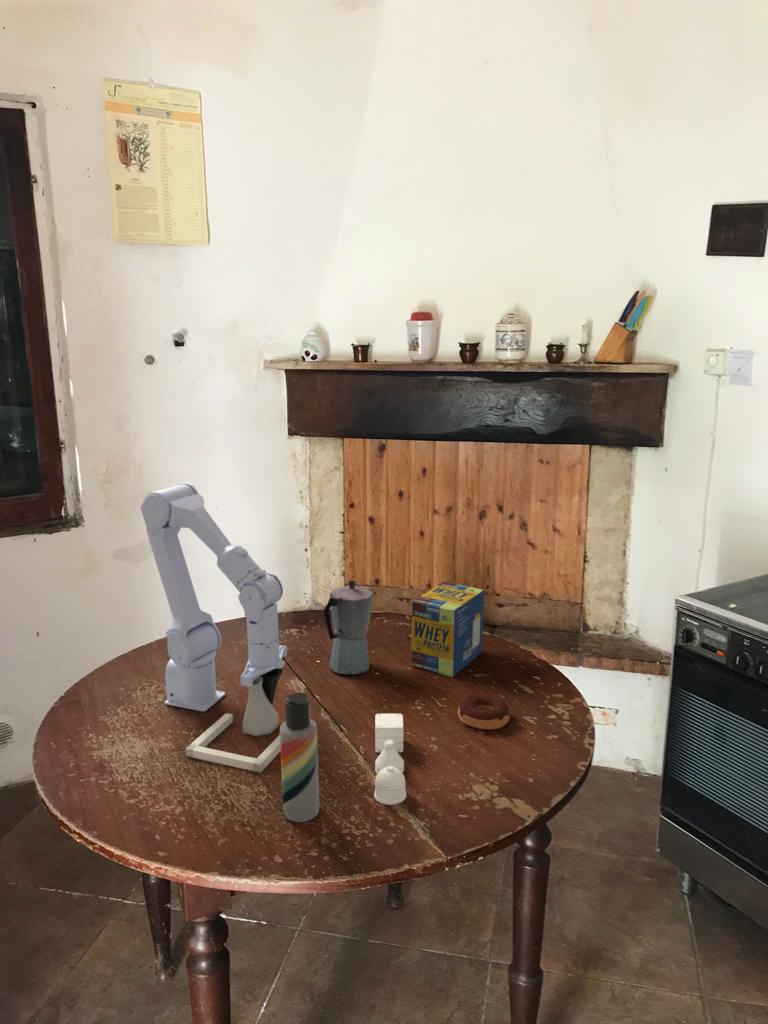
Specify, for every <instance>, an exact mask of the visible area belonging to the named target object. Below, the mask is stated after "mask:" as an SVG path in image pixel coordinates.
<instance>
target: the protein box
mask: <svg viewBox="0 0 768 1024" xmlns="http://www.w3.org/2000/svg"><path fill="white" fill-rule="evenodd" d="M484 600H485V590H484V589H481V588H477V587H472V586H467V585H462V584H458V583H452V582H448V581H442V582H440V583H439V584H438V585H437V586H435V587H432V589H430V590H428V591H427V592H425V593H424V594H422V595H420V596H419V597H417V598H416V599H413V600H412V601H411V667H415V668H417V669H421V670H424V671H425V670H426V671H428V672H432V673H435V674H436V673H437V674H440V675H443V676H448V677H451V678H453V677H454V676H455V675H457V674H458V673H459V672H460V671H461V670H463V669H464V668H465V667H466V666H468V665H469V664H470V663H471V662H472V661H473V660H475V659H476V658H477V657H478V656H479V655H481V654H482V653H483V635H484V634H483V633H484V605H485V604H484V602H485V601H484Z"/></svg>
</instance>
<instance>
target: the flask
mask: <svg viewBox="0 0 768 1024" xmlns="http://www.w3.org/2000/svg"><path fill="white" fill-rule="evenodd" d="M262 683H263V681H262V677H258V678H256V679H255V680H254V681H253V685H252V686H251V687H247V689H248V690H247V691H248V699H247V704H246V708H245V712H244V717H243V720H242V733H243V734H247V735H250V736H254V737H258V736H265V735H270V734H272V733H273V732H274V731H275V730H276V729H277V728H278V727H279V725H280V717H279V714H278V712H277V711H276V709H275V707H274V706H273V704H272V705H271V703H270V702H269V700H268V698H267V697H266V695H265V693H264V690H263V688H262Z"/></svg>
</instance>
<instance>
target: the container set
mask: <svg viewBox="0 0 768 1024" xmlns="http://www.w3.org/2000/svg"><path fill="white" fill-rule="evenodd" d="M374 719H375V720H374V722H375V723H374V724H375V725H374V726H375V727H374V728H375V729H374V730H375V731H374V734H375V735H374V736H375V737H374V738H375V744H374V745H375V746H374V748H375V749H374V751H375V752H376V753H378V754H379V753H380V754H379V755H378V757H377V758H376V759H375V762H374V765H375V766H374V769H375V772H376V777H375V779H374V780H375V781H374V785H375V788H374V792H373V795H374V798H375V800H376V801H377V802H379V803H380V804H382V805H383V804H384V805H389V806H390V805H398V804H400V803H402V802H403V801H404V800H405V799H406V798H407V790H406V779H405V778H406V777H405V775H404V774H403V773H404V771H405V760H404V759H403V757H402V756H401V755H400V754H399V753H402V752H404V716H403V714H401V713H376V714H375V718H374Z"/></svg>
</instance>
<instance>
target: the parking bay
mask: <svg viewBox="0 0 768 1024" xmlns="http://www.w3.org/2000/svg"><path fill="white" fill-rule="evenodd" d="M233 722H234V714H232V713H228V712H226V713H224V714H223V715H222V716H220V717H219V719H218V720H216V721H215V722H214V723H213V724H212V725H211V726H209V728H207V729H206V730H205V731H203V732H202V733H201V734H200V735H199V736H198V737H197V738H195V740H193V741H192V742H191V743H190V744H189V745H188V746H186V748H185V756H186V757H187V758H192V759H197V760H202V761H206V762H211V763H217V764H220V765H223V766H225V765H226V766H230V767H234V768H238V769H243V770H248V771H251V772H256V773H262V772H263V771H264V770H265V768H267V766H268V765H269V764H270V763H271V762H272V761H273V760H274V759H275V757H277V755H278V754H279V753H281V748H280V734H278V736H277V737H276V738H275V739H274V740H273V741H272V742H271V743H270V744H269V745H268V747H266V748H265V749H264V750H263V752H262V753H260V754H259V755H258V757H257V758H256V757H253V756H252V757H251V756H246V755H241V754H237V753H233V752H232V753H231V752H228V751H223V750H219V749H213V748H208V747H207V746H208V745H209V744H210V743H211V742H212V741H214V740H215V739H216V737H218V736H219V735H220V734H221V733H222V732H224V731H225V729H227V728H228V727H229V726H230V725H231V724H233Z"/></svg>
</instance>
